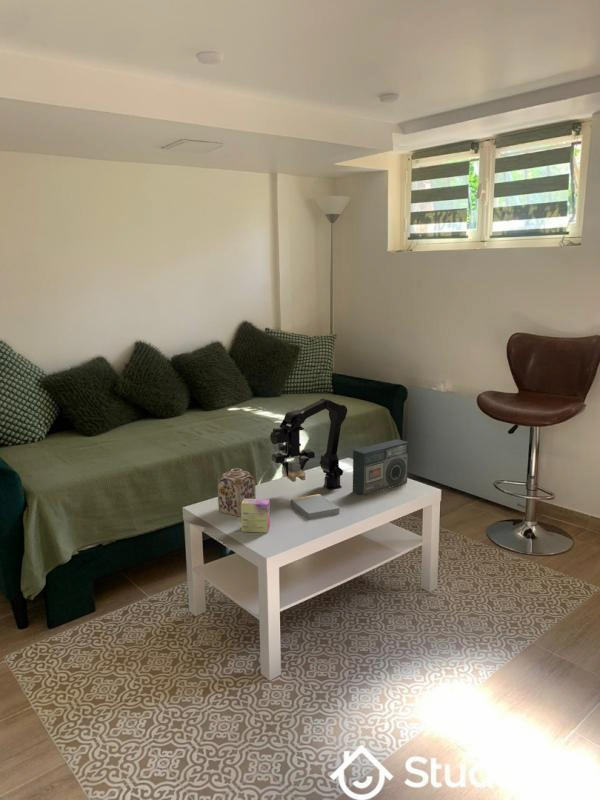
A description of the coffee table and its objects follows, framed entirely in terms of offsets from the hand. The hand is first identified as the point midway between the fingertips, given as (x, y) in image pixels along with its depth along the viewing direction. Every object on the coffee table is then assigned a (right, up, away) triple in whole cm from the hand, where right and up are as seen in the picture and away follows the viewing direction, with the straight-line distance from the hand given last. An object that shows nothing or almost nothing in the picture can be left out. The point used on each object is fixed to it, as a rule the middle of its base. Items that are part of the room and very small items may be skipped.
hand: (293, 474), depth 269 cm
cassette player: (+41, -8, +14) cm, 44 cm away
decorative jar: (-24, -14, -13) cm, 30 cm away
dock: (+9, -13, -12) cm, 20 cm away
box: (-14, -18, -32) cm, 40 cm away
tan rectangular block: (0, -1, 0) cm, 1 cm away
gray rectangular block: (0, +2, -1) cm, 2 cm away
